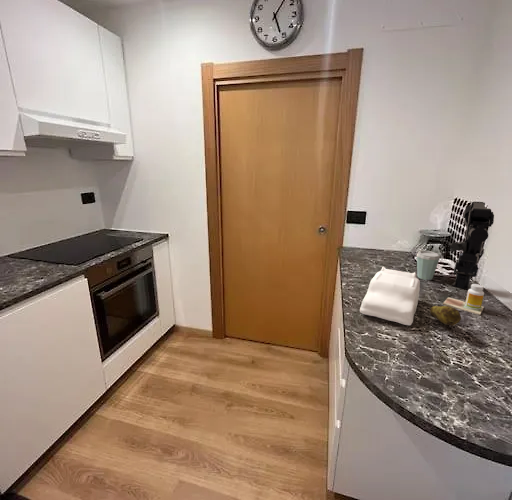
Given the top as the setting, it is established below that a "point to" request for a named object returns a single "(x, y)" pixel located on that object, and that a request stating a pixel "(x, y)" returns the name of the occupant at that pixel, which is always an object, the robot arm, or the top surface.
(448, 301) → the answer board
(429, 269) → the disposable coffee cup
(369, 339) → the top surface
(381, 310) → the white toy car
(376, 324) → the top surface
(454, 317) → the pear
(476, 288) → the supplement bottle
